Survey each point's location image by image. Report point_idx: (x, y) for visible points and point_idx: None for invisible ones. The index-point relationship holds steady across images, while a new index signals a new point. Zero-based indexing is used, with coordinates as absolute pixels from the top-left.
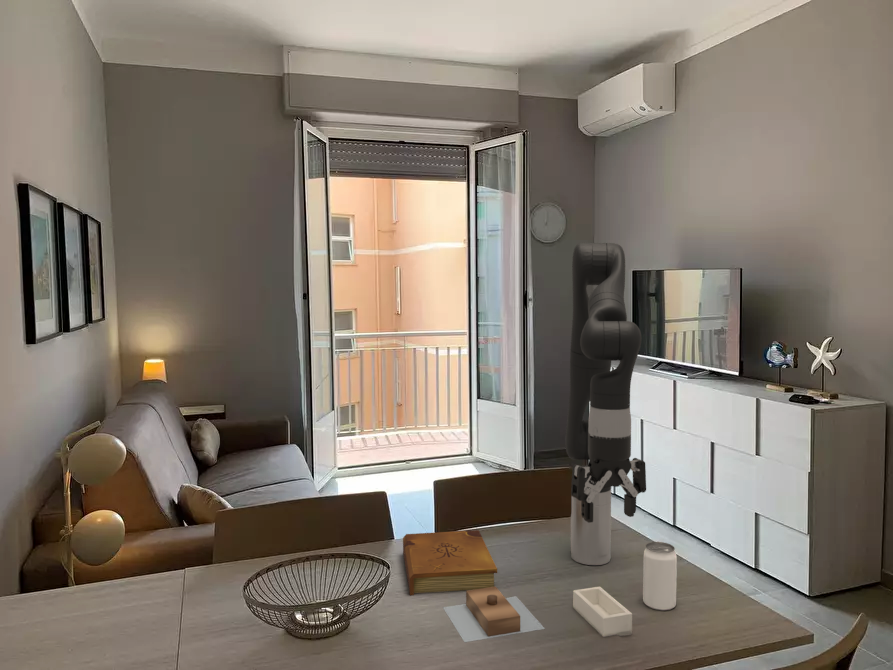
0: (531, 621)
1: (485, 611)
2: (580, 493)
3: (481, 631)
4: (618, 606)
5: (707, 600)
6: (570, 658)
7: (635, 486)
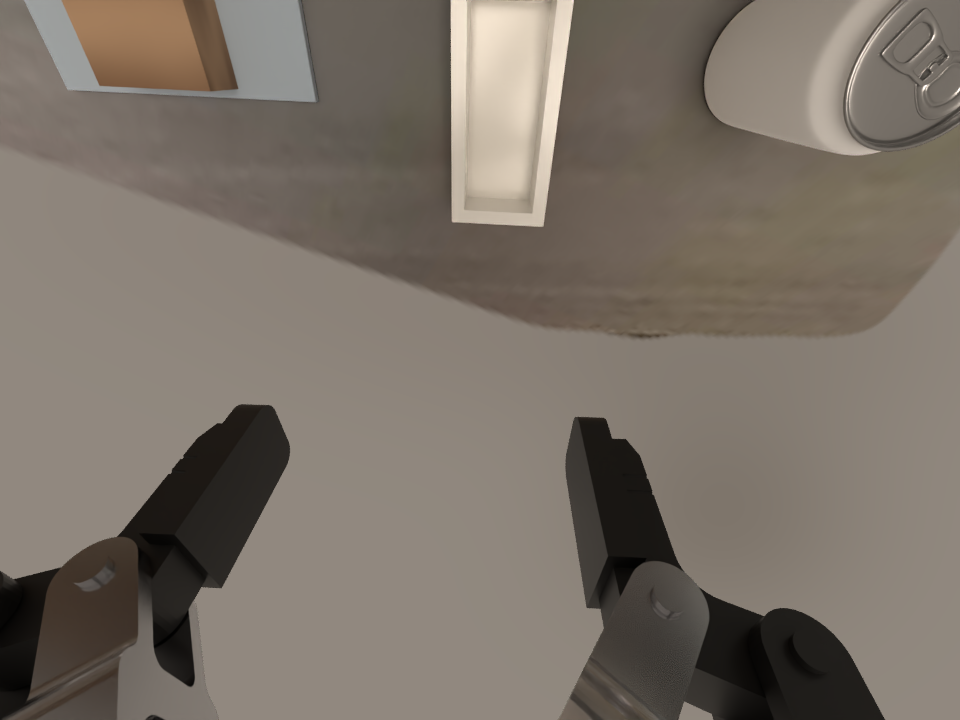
0: (281, 35)
1: (76, 1)
2: (11, 708)
3: None
4: (537, 167)
5: None
6: (348, 248)
7: (719, 701)
